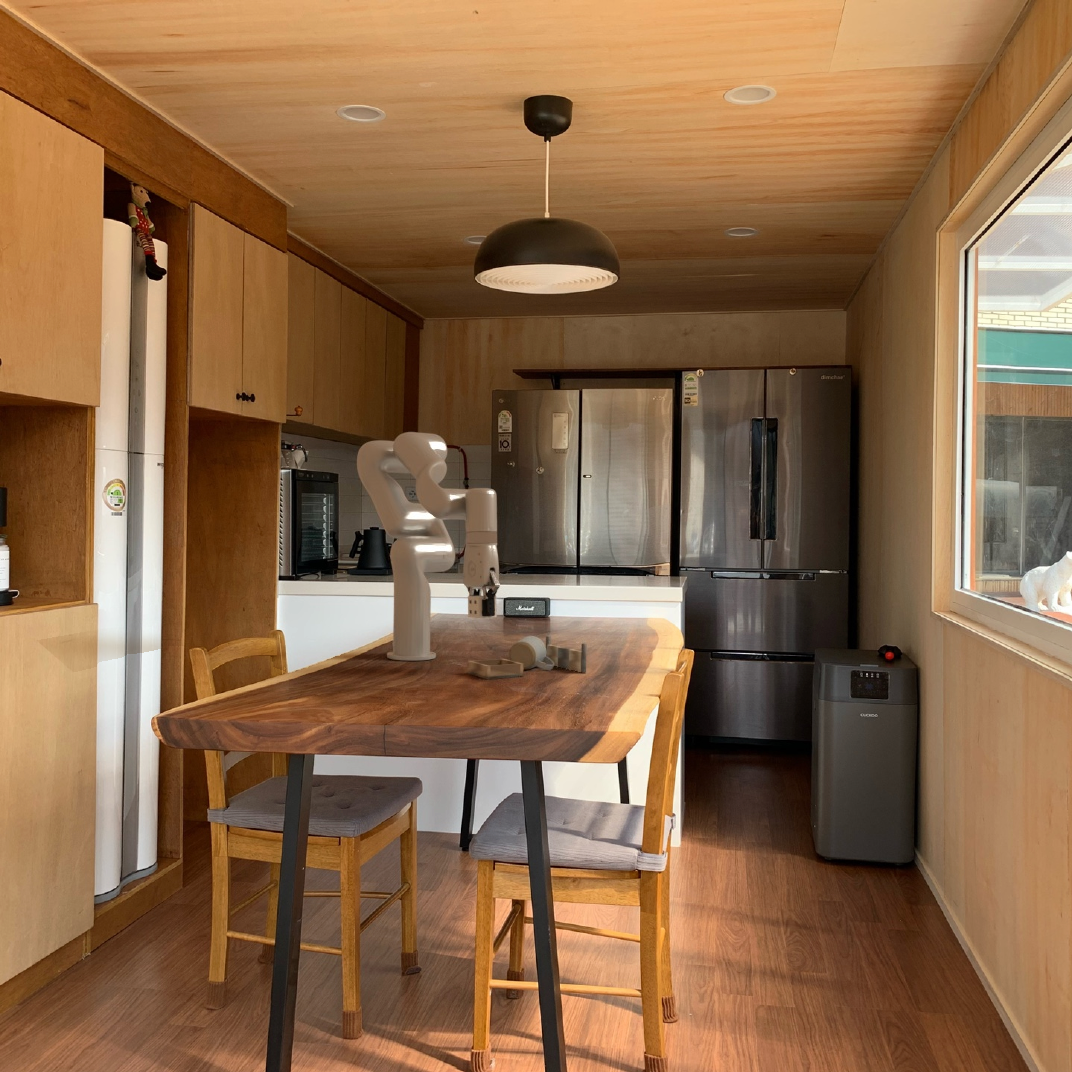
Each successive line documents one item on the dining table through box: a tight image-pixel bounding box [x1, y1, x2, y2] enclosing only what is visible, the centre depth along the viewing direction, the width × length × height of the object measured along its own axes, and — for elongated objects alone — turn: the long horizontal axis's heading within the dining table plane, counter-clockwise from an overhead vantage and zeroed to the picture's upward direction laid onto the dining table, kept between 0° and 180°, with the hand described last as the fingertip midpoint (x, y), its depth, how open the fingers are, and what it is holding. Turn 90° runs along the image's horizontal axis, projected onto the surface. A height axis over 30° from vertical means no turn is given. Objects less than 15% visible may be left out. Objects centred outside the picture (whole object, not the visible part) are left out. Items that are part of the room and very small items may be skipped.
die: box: [467, 595, 498, 619], centre depth 250 cm, size 5×5×5 cm
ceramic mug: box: [508, 635, 554, 671], centre depth 256 cm, size 11×8×8 cm
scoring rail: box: [545, 635, 588, 674], centre depth 257 cm, size 17×1×7 cm, turn 32°
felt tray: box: [466, 658, 524, 680], centre depth 244 cm, size 10×10×3 cm
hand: (482, 614), depth 250 cm, fingers closed on die, 5 cm apart
